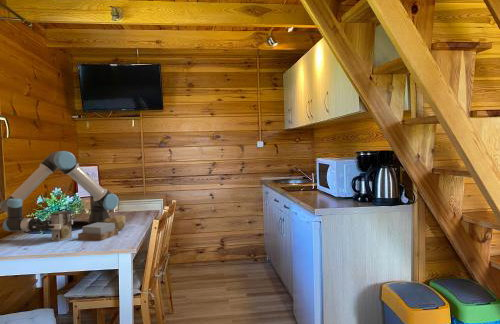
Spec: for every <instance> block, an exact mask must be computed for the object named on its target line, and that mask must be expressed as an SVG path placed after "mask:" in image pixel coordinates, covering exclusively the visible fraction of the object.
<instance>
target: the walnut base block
mask: <svg viewBox="0 0 500 324" xmlns="http://www.w3.org/2000/svg"><path fill="white" fill-rule="evenodd" d="M118 235H119V231H118V229H115V230H112V231H109V232H106V233H103V234H86V233H83V232H80V233H78V234H77V239H78V240H81V241H82V240H83V241H84V240H85V241H96V242H97V241H99V242H102V241H104V240H107V239H110V238H113V237H115V236H118Z"/></svg>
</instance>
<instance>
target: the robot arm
mask: <svg viewBox="0 0 500 324" xmlns="http://www.w3.org/2000/svg"><path fill="white" fill-rule="evenodd" d="M57 170H58V171H60V173H62V174H63V175H65V176H66V175H68V176H69V177H70V178H72V180H73V181H74V182H76V183H77V184H78V185H79V186H80V187H82V188H83V189H84V191H86V192H87V193H88V194H89V200H90V202H89V203H90V205H89V206H90V207H89V208H90V214H89V217H88V220H87V221H88V222H87V223H88V224H89V225H90V224H93V223H97V222H101V223H104V221H105V219H106V218H111V217H110V214H109V211H112V210H115V209H117V207H118V205H119V201H120V200H119V197H118V195H116V194H115V193H112V192H110V191H109V190H108V189H107V188H103V187H102V186H101V185H100V184H98V182H97V181H96V180H95V179H93V178H92V177H91V175H90V174H88V173H87V172H86V171H85V170H84V169H83V168H82V167H81V166H80V165H79V161H77V159H76V156H75V155H74V154H73V153H72V152H70V151H66V150H61V151H60V150H59V151H57V150H56V151H53V152H51V153H49V154H48V155H47V157H45V159H43V160H42V161H41V162H40V163H39V167H38V168H37V169H35V171H34V172H32V173H31V174H30V176H28V178H26V179H25V181H23V183H22V184H20V186H19V187H17V188H16V190H15V191H14V192H12V194H11V195H10V196H9V197H7V199H4V200H2V201H1V202H0V210H1V211H2V212H4V213H7V218H5V219H4V220H3V224H2V229H3V230H4V231H5V232H26V233H28V232H39V231H46V232H47V231H49V230H52V229H61V224H51V219H50V220H41V219H40V218H37V217H35V218H33V217H32V218H29V217H28V218H27V217H26V218H23V214H24V213H23V202H24V201H25V200H26V199H27V198H28V197H29V196H30V195H31V193H33V192H34V191H35V190H36V189H37V188H38V187H39V186H40V184H42V183H43V181H45V179H47V177H48V176H49V175H51V174H52V175H53V173H55V171H57ZM71 225H74V219H71Z"/></svg>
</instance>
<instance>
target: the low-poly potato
mask: <svg viewBox="0 0 500 324" xmlns="http://www.w3.org/2000/svg"><path fill="white" fill-rule="evenodd" d="M104 223H115V229H118V232H120V231H122V230H124V228H125V227H126V226H125V225H126V215H116V216H113V217H110V218H106V219H105V221H104Z"/></svg>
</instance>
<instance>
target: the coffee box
mask: <svg viewBox="0 0 500 324" xmlns="http://www.w3.org/2000/svg"><path fill="white" fill-rule="evenodd" d="M50 220H51V224H61V229H51V241H52V240H53V242H61V241H62V240H63V241H66V240H68V239H71V238H72V237H73V234H72V224H71V220H72V211H67V210H65V211H64V210H63V211H58V212H54V213H51V214H50Z"/></svg>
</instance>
